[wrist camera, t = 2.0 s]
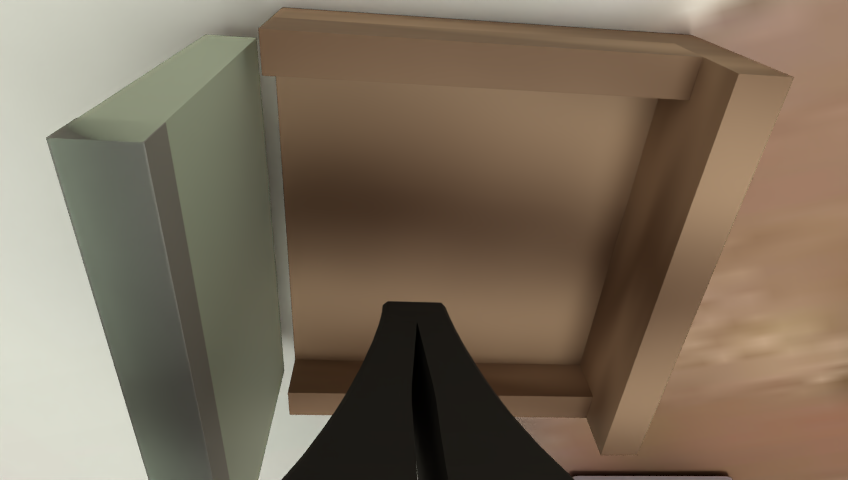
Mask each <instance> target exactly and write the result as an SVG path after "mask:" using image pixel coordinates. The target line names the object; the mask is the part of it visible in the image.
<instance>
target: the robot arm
mask: <svg viewBox="0 0 848 480" xmlns="http://www.w3.org/2000/svg"><path fill="white" fill-rule="evenodd" d="M416 466H417V468H416ZM417 474H418V479H417ZM282 480H732V478H730V477H727V476H574V477H571V476H570V475H569V474H568V473H567V472H566V471H565V470H564V469H563V468H562V467H561V466H560V465H559V464H558V463H557V462H556V461H555V460H554V459H553V458H552V457H550V456H549V455H548V454H547V453H546V452H545V451H544V450H543V449H542V448H541V447H540V446H539V444H538V443H537V442H536V441H535V440H534V439H533V438H532V437H531V436H530V435H529V434H528V432H527V431H526V430H525V429H524V428H523V427H522V426H521V424H520V423H519V422H518V421H517V420H516V419H515V417H514V416H513V415H512V414H511V413H510V411H509V410H508V409H507V408H506V406H505V405H504V404H503V402H502V401H501V400H500V398H499V397H498V396H497V394H496V393H495V392H494V390H493V389H492V387H491V386H490V385H489V383H488V382H487V380H486V379H485V377H484V376H483V374H482V373H481V371H480V370H479V368H478V367H477V365H476V364H475V362H474V360H473V359H472V357H471V356H470V354H469V352H468V351H467V349H466V347H465V346H464V344H463V342H462V340H461V338H460V336H459V335H458V333H457V331H456V329H455V327H454V325H453V323H452V321H451V319H450V317H449V314H448V312H447V310H446V307H445V306H444V305H443V304H442V303H439V302H402V301H387V302H386V303H385V304H383V306H382V313H381V318H380V321H379V325H378V328H377V331H376V333H375V336H374V339H373V341H372V343H371V346H370V348H369V350H368V352H367V354H366V357H365V359H364V361H363V363H362V365H361V367H360V369H359V371H358V373H357V375H356V376H355V378H354V380H353V382H352V384H351V386H350V387H349V389H348V391H347V393H346V394H345V396H344V398H343V399H342V401H341V403H340V404H339V406H338V407H337V409H336V410H335V412H334V413H333V415H332V416H331V418H330V419H329V421H328V422H327V424H326V425H325V427H324V428H323V429H322V431H321V432H320V433H319V435H318V436H317V437H316V439H315V440H314V441H313V443H312V444H311V445H310V447H309V448H308V449H307V451H306V452H305V453H304V454H303V456H302V457H301V458H300V459H299V460H298V462H297V463H296V464H295V465H294V466H293V467H292V469H291V470H290V471H289V472H288V473H287V474H286V475H285V476H284V477H283V479H282Z"/></svg>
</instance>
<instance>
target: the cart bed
mask: <svg viewBox="0 0 848 480" xmlns="http://www.w3.org/2000/svg"><path fill="white" fill-rule="evenodd" d="M258 31H259V43H260V55H261V68H262V76H276V87H277V102H278V116H279V131H280V145H281V160H282V174H283V189H284V203H285V218H286V233H287V247H288V262H289V276H290V291H291V305H292V320H293V334H294V349H295V363H294V368H293V372H292V377H291V381H290V386H289V390H288V400H289V412H290V415H333V413H334V412H335V410H336V409H337V407H338V406H339V404H340V403H341V401H342V399H343V398H344V396H345V394H346V393H347V391H348V389H349V387H350V386H351V384H352V382H353V380H354V378H355V376H356V375H357V373H358V371H359V369H360V367H361V365H362V363H363V361H364V359H365V357H366V354H367V352H368V350H369V348H370V346H371V343H372V341H373V339H374V336H375V333H376V331H377V328H378V325H379V321H380V318H381V313H382V306H383V304H385V303H386V302H387V301H402V302H439V303H442V304H443V305H444V306H445V307H446V310H447V312H448V314H449V317H450V319H451V321H452V323H453V325H454V327H455V329H456V331H457V333H458V335H459V336H460V338H461V340H462V342H463V344H464V346H465V347H466V349H467V351H468V352H469V354H470V356H471V357H472V359H473V360H474V362H475V364H476V365H477V367H478V368H479V370H480V371H481V373H482V374H483V376H484V377H485V379H486V380H487V382H488V383H489V385H490V386H491V387H492V389H493V390H494V392H495V393H496V394H497V396H498V397H499V398H500V400H501V401H502V402H503V404H504V405H505V406H506V408H507V409H508V410H509V411H510V413H511V414H512V415H513V416H514V417H565V418H587V420H588V423H589V426H590V428H591V431H592V433H593V436H594V439H595V441H596V444H597V447H598V449H599V452H600V454H601V455H638V452H639V450H640V447H641V445H642V443H643V440H644V438H645V435H646V433H647V431H648V428H649V426H650V423H651V421H652V418H653V416H654V414H655V411H656V409H657V406H658V404H659V402H660V399H661V397H662V394H663V392H664V390H665V387H666V385H667V382H668V380H669V378H670V375H671V373H672V370H673V368H674V365H675V363H676V361H677V358H678V356H679V353H680V351H681V349H682V346H683V344H684V341H685V339H686V337H687V334H688V332H689V329H690V327H691V325H692V322H693V320H694V317H695V315H696V312H697V310H698V308H699V305H700V303H701V300H702V298H703V296H704V293H705V291H706V288H707V286H708V284H709V281H710V279H711V276H712V274H713V272H714V269H715V267H716V264H717V262H718V259H719V257H720V255H721V252H722V250H723V247H724V245H725V243H726V240H727V238H728V235H729V233H730V231H731V228H732V226H733V223H734V221H735V219H736V216H737V214H738V211H739V209H740V206H741V204H742V202H743V199H744V197H745V194H746V192H747V190H748V187H749V185H750V182H751V180H752V178H753V175H754V173H755V170H756V168H757V166H758V163H759V161H760V158H761V156H762V153H763V151H764V149H765V146H766V144H767V141H768V139H769V137H770V134H771V132H772V129H773V127H774V125H775V122H776V120H777V117H778V115H779V113H780V110H781V108H782V105H783V103H784V100H785V98H786V96H787V93H788V91H789V88H790V86H791V84H792V81H793V79H794V77H792V76H790V75H788V74H785V73H783V72H780V71H778V70H775V69H773V68H771V67H768V66H766V65H763V64H761V63H759V62H756V61H754V60H751V59H749V58H746V57H744V56H742V55H739V54H737V53H734V52H732V51H729V50H727V49H725V48H722V47H720V46H717V45H715V44H713V43H710V42H708V41H705V40H703V39H700V38H698V37H696V36H693V35H683V34H668V33H654V32H639V31H624V30H609V29H594V28H579V27H565V26H550V25H535V24H520V23H505V22H490V21H476V20H461V19H446V18H431V17H416V16H401V15H387V14H372V13H357V12H342V11H327V10H312V9H298V8H281V9H280V10H279V11H278V12H277V13H276V14H275V15H273V16H272V17H271V18H270V19H269V20H268V21H266V22H265V23H264V24H263V25H262V26H261V27H259V28H258Z"/></svg>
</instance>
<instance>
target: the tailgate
mask: <svg viewBox="0 0 848 480" xmlns="http://www.w3.org/2000/svg"><path fill="white" fill-rule="evenodd" d="M46 140H47V143H48V146H49V150H50V153H51V156H52V160H53V163H54V166H55V170H56V173H57V176H58V180H59V183H60V186H61V190H62V193H63V196H64V200H65V203H66V206H67V210H68V213H69V216H70V220H71V223H72V226H73V230H74V233H75V236H76V240H77V243H78V246H79V250H80V253H81V256H82V260H83V263H84V266H85V270H86V273H87V276H88V280H89V283H90V286H91V290H92V293H93V296H94V300H95V303H96V306H97V310H98V313H99V316H100V319H101V323H102V326H103V329H104V333H105V336H106V339H107V343H108V346H109V349H110V353H111V356H112V359H113V363H114V366H115V369H116V373H117V376H118V379H119V383H120V386H121V389H122V393H123V396H124V399H125V403H126V406H127V409H128V413H129V416H130V419H131V423H132V426H133V429H134V433H135V436H136V439H137V443H138V446H139V449H140V453H141V456H142V459H143V463H144V466H145V469H146V473H147V476H148V479H149V480H258V478H259V474H260V470H261V466H262V461H263V457H264V453H265V449H266V445H267V440H268V436H269V432H270V428H271V424H272V419H273V415H274V411H275V407H276V403H277V399H278V394H279V390H280V386H281V382H282V378H283V373H284V361H283V349H282V337H281V325H280V313H279V302H278V290H277V278H276V266H275V254H274V242H273V230H272V218H271V206H270V194H269V182H268V170H267V158H266V146H265V134H264V122H263V110H262V99H261V87H260V75H259V63H258V51H257V39H256V38H251V37H235V36H220V35H204V36H203V37H201V38H200V39H198V40H197V41H195V42H194V43H192V44H190V45H189V46H187V47H186V48H184V49H183V50H181V51H180V52H178V53H177V54H175V55H174V56H172V57H171V58H169V59H168V60H166V61H164V62H163V63H161V64H160V65H158V66H157V67H155V68H154V69H152V70H151V71H149V72H148V73H146V74H145V75H143V76H142V77H140V78H138V79H137V80H135V81H134V82H132V83H131V84H129V85H128V86H126V87H125V88H123V89H122V90H120V91H119V92H117V93H116V94H114V95H112V96H111V97H109V98H108V99H106V100H105V101H103V102H102V103H100V104H99V105H97V106H96V107H94V108H93V109H91V110H90V111H88V112H86V113H85V114H83V115H82V116H80V117H79V118H76V119H74V120H73V121H71V122H70V123H68V124H66V125H65V126H63V127H62V128H60V129H59V130H57V131H56V132H54V133H53V134H51V135H50V136H48V137H46Z"/></svg>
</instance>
